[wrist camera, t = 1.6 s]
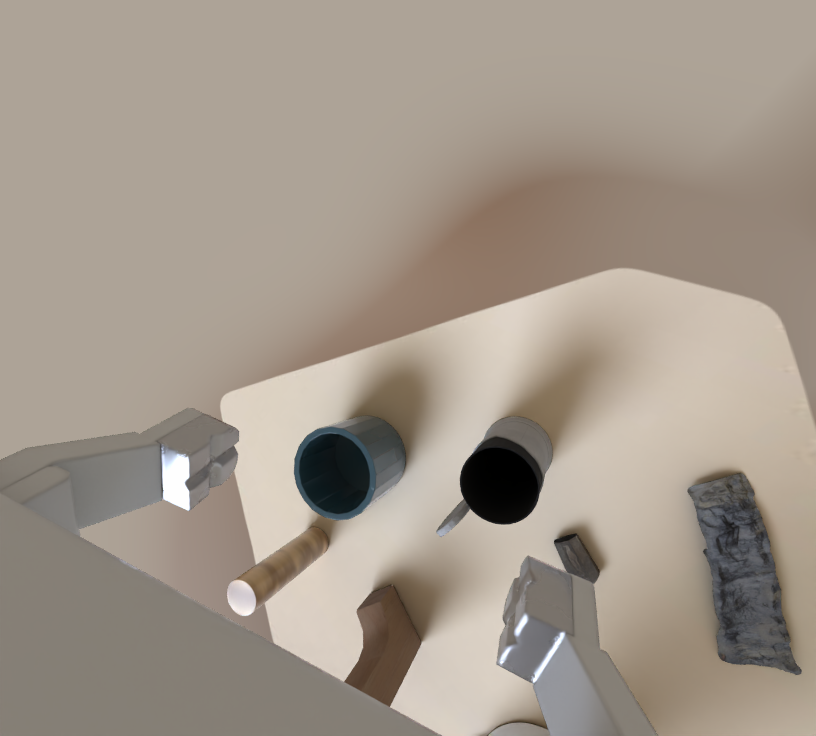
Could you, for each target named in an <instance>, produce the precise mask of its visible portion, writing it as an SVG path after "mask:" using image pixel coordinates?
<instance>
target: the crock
mask: <svg viewBox="0 0 816 736" xmlns="http://www.w3.org/2000/svg"><path fill="white" fill-rule="evenodd" d="M405 462H406V456H405V449H404V445H403V442H402V440H401V438H400V436H399V435H398V433H397V432H396V430H395V429H394V428H393V427H392V426H391V425H390V424H388V423H387V422H386V421H384V420H382V419H380V418H377V417H374V416H359V417H356V418H351V419H348V420H345V421H342V422H338V423H335V424H332V425H329V426H325V427H322V428H319V429H317V430H315V431H313V432H312V433H310V434H309V435H307V436H306V438H305V439H304V440H303V442H302V443H301V444H300V446H299V448H298V451H297V454H296V456H295V464H294V475H295V480H296V485H297V488H298V490H299V492H300V494H301V496H302V498H303V499H304V501H305V502H306V503H307V504H308V505H309V506H310V507H311V509H312V510H314V511H315V512H317V513H318V514H320V515H322V516H323V517H326V518H330V519H333V520H346V519H351V518H353V517H355V516H357V515H359V514H360V513H362V512H363V511H364V510H366V509H367V508H368V507H370V506H371V505H372V504H373V503H375V502H376V501H377V500H378V499H380V498H381V497H382V496H384V495H385V494H386V493H387V492H389V491H390V490H391V489H392V488H393V487H394V486H395V485H396V484H397V483H398V482H399V480H400V478H401V477H402V474H403V472H404V468H405Z"/></svg>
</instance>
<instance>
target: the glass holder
mask: <svg viewBox="0 0 816 736" xmlns="http://www.w3.org/2000/svg"><path fill="white" fill-rule="evenodd" d="M551 461H552V445H551V442H550V439H549V437H548V435H547V434H546V432H545V431H544V430H543V429H542V428H541V427H540V426H539V425H538V424H537V423H535V422H533V421H532V420H529V419H527V418H523V417H507V418H503V419H501V420H499V421H497V422H496V423H494V424H493V425H492V426H491V427H490V428H489V429H488V431H487V433H486V434H485V437H484V440H483V441H482V442H481V443H480V444H479V445H478V446H477V447H476V448H475V450H474V451H473V453H472V455H471V456H470V457H469V458H468V459H467V460H466V462H465V464H464V465H463V468H462V471H461V475H460V487H461V492H462V495H463V498H464V499H463V500H462V501H461V502H460V503H459V504H458V505H457V507H456V508H455V509H454V510H453V511H452V512H451V513H450V514H449V515H448V516H447V518H446V519H445V520H444V521H443V522H442V524H441V525H440V526H439V528H438V529H437V531H436V532H437V534H438V535H439V536H440V537H442V536H444V535H445V534H446V533H448V532H449V531H450V530H451V529H452V528H453V527H454V526H456V525H457V524H458V523H459V522H460V521H461V519H462V518H463V517H464V516H465V515H466V514H467V512H468V511H469V510H470V509H471V510H472V511H473V512H474V513H475V514H476V515H478V516H479V517H481V518H482V519H484V520H486V521H488V522H492V523H495V524H512V523H516V522H519V521H521V520H523V519H524V518H526V517H527V516H528V515H529V514H530V513H531V512H532V511H533V509H534V508H535V506H536V504H537V502H538V498H539V493H540V492H541V489H542V486H543V482H544V477H545V473H546V471H547V470H548V468H549V466H550V464H551Z"/></svg>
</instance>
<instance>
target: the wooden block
mask: <svg viewBox="0 0 816 736" xmlns="http://www.w3.org/2000/svg"><path fill="white" fill-rule="evenodd" d="M357 615H358V618H359V620H360V623H361V626H362V629H363V650H362V652H361V655H360V658H359V661H358V662H357V664H356V665H355V667H354V668H353V670H352V671H351V673H350V674H349V676H348V677H347V679H346V680H345V681H344V682H345V683H347V684H349V685H350V686H352V687H354V688H356V689H358V690H360V691H361V692H363V693H365V694H367V695H369V696H370V697H372V698H374V699H376V700H378V701H380V702H381V703H383V704H385V705H387V706H389V707H390V705H391V703H392V701H393V699H394V697H395V695H396V693H397V691H398V689H399V687H400V685H401V683H402V681H403V679H404V677H405V675H406V673H407V671H408V669H409V667H410V665H411V663H412V661H413V659H414V657H415V655H416V653H417V651H418V649H419V647H420V645H421V641H420V639H419V637H418V635H417V633H416V631H415V629H414V627H413V625H412V623H411V621H410V619H409V617H408V615H407V613H406V611H405V609H404V607H403V605H402V603H401V601H400V599H399V597H398V594H397V592H396V590H395V588H394V586H393V585H390V586H388V587H385V588H383V589H380V590H378V591H375V592H373V593H371V594H369V596H368V597H367V598H366V599H365V600H364V602H363V603H362V604H361V605H360V607H359V608H358V609H357Z"/></svg>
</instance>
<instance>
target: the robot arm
mask: <svg viewBox="0 0 816 736" xmlns="http://www.w3.org/2000/svg"><path fill="white" fill-rule="evenodd" d="M238 441H239V431H238V430H237V429H236V428H235V427H233V426H231V425H228V424H226V423H224V422H222V421H220V420H218V419H216V418H213V417H211V416H209V415H206V414H204V413H202V412H200V411H198V410H195V409H193V408H187V409H185V410H183V411H181V412H179V413H178V414H176V415H174V416H172V417H170V418H168V419H166V420H164V421H163V422H161V423H159V424H157V425H155V426H154V427H152V428H150V429H148V430H146V431H144V432H142V433H141V434H138V433H136V432H132V433H125V434H118V435H112V436H104V437H98V438H91V439H84V440H77V441H70V442H64V443H57V444H50V445H44V446H37V447H30V448H25V449H23V450H21V451H19V452H16V453H14V454H12V455H10V456H8V457H5V458H3V459H1V460H0V736H441V735H440V734H438V733H436V732H434V731H432V730H431V729H429V728H427V727H425V726H423V725H421V724H420V723H418V722H416V721H414V720H412V719H410V718H409V717H407V716H405V715H403V714H401V713H400V712H398V711H396V710H394V709H392V708H390V707H389V706H387V705H385V704H383V703H381V702H380V701H378V700H376V699H374V698H372V697H370V696H369V695H367V694H365V693H363V692H361V691H360V690H358V689H356V688H354V687H352V686H350V685H349V684H347V683H345V682H343V681H341V680H340V679H338V678H336V677H334V676H332V675H330V674H329V673H327V672H325V671H323V670H321V669H320V668H318V667H316V666H314V665H312V664H310V663H309V662H307V661H305V660H303V659H301V658H299V657H298V656H296V655H294V654H292V653H290V652H289V651H287V650H285V649H283V648H281V647H279V646H278V645H276V644H274V643H272V642H270V641H269V640H267V639H265V638H263V637H261V636H259V635H257V634H256V633H254V632H252V631H250V630H248V629H246V628H245V627H243V626H241V625H239V624H238V623H236V622H234V621H232V620H230V619H229V618H226V617H225V616H223V615H221V614H219V613H218V612H216V611H214V610H212V609H210V608H209V607H207V606H205V605H203V604H201V603H199V602H198V601H196V600H194V599H192V598H190V597H188V596H187V595H185V594H183V593H181V592H180V591H178V590H176V589H174V588H172V587H170V586H168V585H167V584H165V583H163V582H161V581H160V580H158V579H156V578H154V577H152V576H151V575H148V574H147V573H145V572H143V571H141V570H140V569H138V568H136V567H134V566H132V565H130V564H129V563H126V562H125V561H123V560H121V559H120V558H118V557H116V556H114V555H112V554H111V553H109V552H107V551H105V550H103V549H101V548H100V547H97V546H96V545H94V544H92V543H90V542H89V541H87V540H85V539H83V538H81V537H80V532H79V529H81V528H84V527H87V526H90V525H93V524H96V523H99V522H101V521H104V520H107V519H110V518H113V517H116V516H119V515H121V514H124V513H127V512H130V511H133V510H136V509H139V508H141V507H144V506H147V505H150V504H153V503H156V502H159V501H161V500H162V499H164V500H166V501H169V502H171V503H173V504H175V505H177V506H179V507H182V508H184V509H186V510H188V511H190V510H191V509H192V508H194V507H195V506H196V505H197V504H198V503H200V502H201V501H202V500H203V499H204V498H206V497H207V496H208V495H209V490H210V488H211V487H215V486H219V485H221V484H223V483H224V482H225V481H226V480H227V479H228V478H229V477H230V475H231V474H232V472H233V471H234V469H235V467H236V464H237V460H238V453H237V451H236V449H235V447H234V445H235V444H236V443H237V442H238ZM503 621H504V623H505V625H506V626H505V628H504V630H503V632H502V634H501V636H500V641H499V648H498V656H497V665H499V666H500V667H502V668H504V669H506V670H508V671H510V672H512V673H514V674H515V675H517V676H519V677H521V678H523V679H525V680H527V681H529V682H531V683H532V684H534V685H533V688H534V691H535V693H536V696H537V699H538V702H539V705H540V708H541V710H542V713H543V716H544V719H545V722H546V725H547V727H548V730H547V729H545V728H543V727H540V726H537V725H533V724H529V723H509V724H505V725H502V726H500V727H498V728H496V729H495V730H494V731H492V732H491V733H490V734H489V735H488V736H658V735H657V733H656V731H655V730H654V728H653V726H652V725H651V723H650V722H649V720H648V718H647V717H646V715H645V713H644V712H643V710H642V708H641V707H640V705H639V704H638V702H637V700H636V699H635V697H634V695H633V694H632V692H631V691H630V689H629V687H628V686H627V684H626V682H625V681H624V679H623V678H622V676H621V674H620V673H619V671H618V669H617V668H616V666H615V665H614V663H613V661H612V660H611V658H610V656H609V655H608V653H607V652H605V651H603V650H601V649H600V643H599V632H598V622H597V611H596V600H595V590H594V585H593V584H592V582H590V581H587V580H585V579H582V578H580V577H578V576H575V575H573V574H571V573H570V574H569V573H568V572H565V571H563V570H561V569H558V568H556V567H554V566H551V565H549V564H547V563H544V562H542V561H540V560H537V559H535V558H533V557H530V556H527V557H526V558H525V559H524V561H523V563H522V565H521V569H520V577H518V578H515V579H514V581H513V583H512V585H511V587H510V590H509V593H508V596H507V599H506V603H505V607H504V613H503Z"/></svg>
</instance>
